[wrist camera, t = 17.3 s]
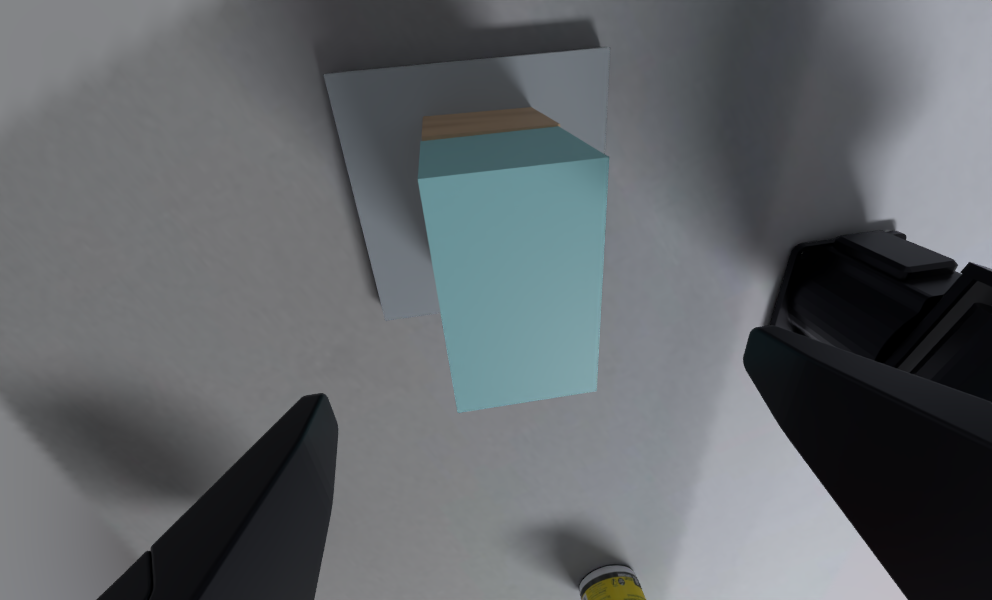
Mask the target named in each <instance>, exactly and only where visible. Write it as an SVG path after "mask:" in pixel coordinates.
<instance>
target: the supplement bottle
mask: <svg viewBox="0 0 992 600" xmlns="http://www.w3.org/2000/svg"><path fill="white" fill-rule="evenodd" d="M579 591H580V596H581V599H582V600H646V598H645V596H644V594H643V591H642V588H641V586H640V583H639V581H638V579H637V577H636V574H635V573H634V572H633V570H631V569H630V568H628V567H625V566H619V565H613V566H605V567H602V568H599V569H597V570H595V571H593V572H591V573H590V574H588V575H587V576H586V577H585V578H584V579H583V580H582V582H581V584H580V587H579Z"/></svg>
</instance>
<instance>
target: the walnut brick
mask: <svg viewBox="0 0 992 600" xmlns="http://www.w3.org/2000/svg"><path fill="white" fill-rule="evenodd" d="M557 126H559V127H560V124H559V123H557V122H556V121H554V120H552V119H551V118H549V117H547V116H546V115H544V114H542V113H540V112H539V111H537V110H535V109H534V108H532V107H527V108H516V109H504V110H493V111H481V112H469V113H458V114H446V115H435V116H423V122H422V141H427V140H437V139H446V138H455V137H464V136H474V135H483V134H492V133H501V132H510V131H520V130H529V129H538V128H547V127H557Z"/></svg>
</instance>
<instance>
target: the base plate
mask: <svg viewBox="0 0 992 600" xmlns="http://www.w3.org/2000/svg"><path fill="white" fill-rule="evenodd" d="M609 61H610V47H598V48H587V49H577V50H566V51H556V52H545V53H535V54H524V55H514V56H503V57H493V58H482V59H471V60H461V61H450V62H440V63H429V64H419V65H408V66H398V67H387V68H377V69H366V70H356V71H345V72H334V73H327V74H323V75H324V79H325V83H326V87H327V91H328V95H329V99H330V103H331V107H332V111H333V115H334V119H335V123H336V127H337V131H338V135H339V139H340V143H341V147H342V151H343V155H344V159H345V162H346V166H347V170H348V174H349V178H350V182H351V186H352V190H353V194H354V198H355V202H356V206H357V210H358V214H359V218H360V222H361V226H362V230H363V234H364V238H365V242H366V246H367V250H368V254H369V258H370V262H371V266H372V270H373V274H374V278H375V282H376V286H377V290H378V294H379V298H380V302H381V306H382V310H383V314H384V318H385V321H387V320H394V319H401V318H409V317H416V316H423V315H430V314H437V313H441V312H440V306H439V301H438V295H437V289H436V283H435V277H434V271H433V266H432V260H431V254H430V248H429V242H428V236H427V231H426V225H425V219H424V213H423V207H422V201H421V195H420V190H419V184H418V168H419V155H420V141H422V122H423V116H435V115H446V114H458V113H469V112H481V111H493V110H504V109H516V108H527V107H532V108H534V109H535V110H537V111H539V112H540V113H542V114H544V115H546V116H547V117H549V118H551V119H552V120H554V121H556V122H557V123H559V124H560V127H561V128H562V129H564V130H566V131H567V132H569V133H570V134H572V135H574V136H575V137H577V138H579V139H580V140H582V141H584V142H585V143H587V144H588V145H590V146H592V147H593V148H595V149H597V150H598V151H600V152H602V153H603V154H605V143H606V123H607V102H608V82H609Z"/></svg>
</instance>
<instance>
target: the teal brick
mask: <svg viewBox="0 0 992 600" xmlns="http://www.w3.org/2000/svg"><path fill="white" fill-rule="evenodd" d="M608 169H609V157H608V156H606V155H605V154H603V153H602V152H600V151H598V150H597V149H595V148H593V147H592V146H590V145H588V144H587V143H585V142H584V141H582V140H580V139H579V138H577V137H575V136H574V135H572V134H570V133H569V132H567V131H566V130H564V129H562V128H561V127H559V126H557V127H547V128H538V129H529V130H520V131H510V132H501V133H492V134H483V135H474V136H464V137H455V138H446V139H437V140H427V141H420V155H419V168H418V184H419V190H420V195H421V201H422V207H423V213H424V219H425V225H426V231H427V236H428V242H429V248H430V254H431V260H432V266H433V271H434V277H435V283H436V289H437V295H438V301H439V306H440V312H441V318H442V324H443V330H444V336H445V341H446V347H447V353H448V359H449V365H450V371H451V377H452V382H453V388H454V394H455V400H456V406H457V412H458V413H460V412H467V411H473V410H480V409H486V408H492V407H499V406H505V405H511V404H518V403H524V402H530V401H537V400H543V399H550V398H556V397H562V396H569V395H575V394H581V393H588V392H594V391H597V375H598V356H599V338H600V319H601V300H602V281H603V263H604V244H605V225H606V207H607V188H608Z"/></svg>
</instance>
